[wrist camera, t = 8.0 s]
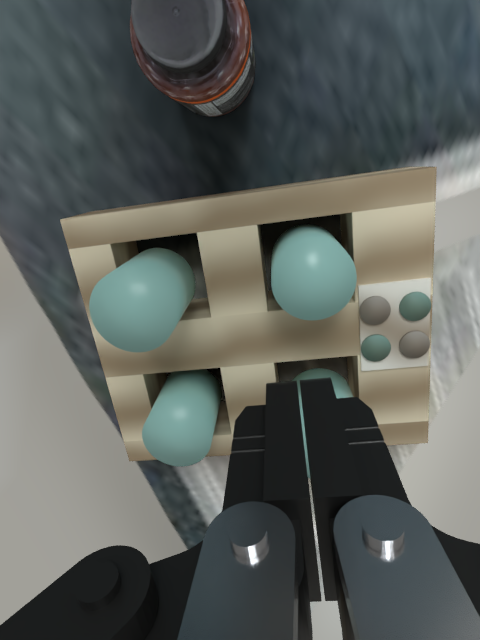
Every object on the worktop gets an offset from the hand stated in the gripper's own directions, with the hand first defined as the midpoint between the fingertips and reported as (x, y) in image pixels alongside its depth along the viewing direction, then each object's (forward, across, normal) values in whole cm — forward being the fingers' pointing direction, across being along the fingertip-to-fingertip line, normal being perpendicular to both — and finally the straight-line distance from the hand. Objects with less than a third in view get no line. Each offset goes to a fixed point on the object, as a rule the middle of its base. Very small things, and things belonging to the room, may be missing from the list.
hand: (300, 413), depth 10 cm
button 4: (+20, -2, +1) cm, 20 cm away
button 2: (+18, +8, +1) cm, 20 cm away
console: (+23, +2, +6) cm, 24 cm away
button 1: (+20, +8, +11) cm, 24 cm away
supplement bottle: (+24, +3, -12) cm, 27 cm away
